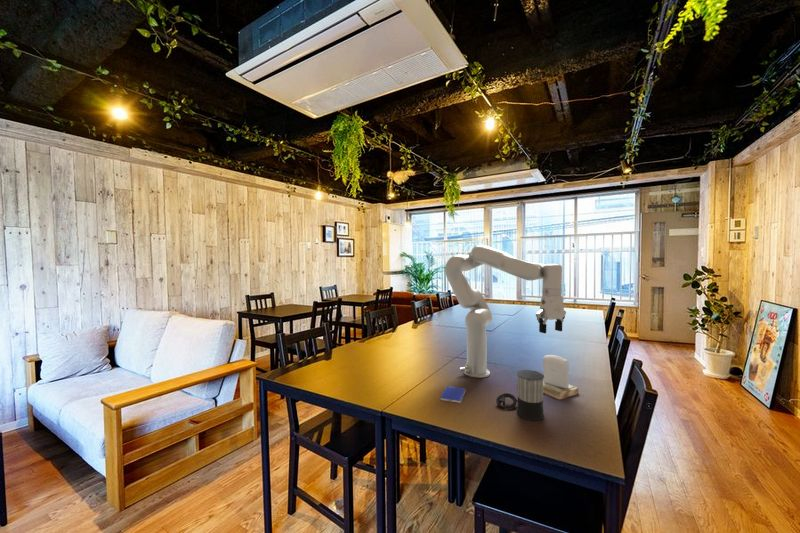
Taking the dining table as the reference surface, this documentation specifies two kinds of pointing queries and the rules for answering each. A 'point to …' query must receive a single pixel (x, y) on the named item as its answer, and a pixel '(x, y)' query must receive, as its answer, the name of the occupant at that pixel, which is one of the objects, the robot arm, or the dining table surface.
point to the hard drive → (453, 394)
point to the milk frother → (527, 395)
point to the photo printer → (556, 371)
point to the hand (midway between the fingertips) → (550, 331)
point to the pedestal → (559, 391)
